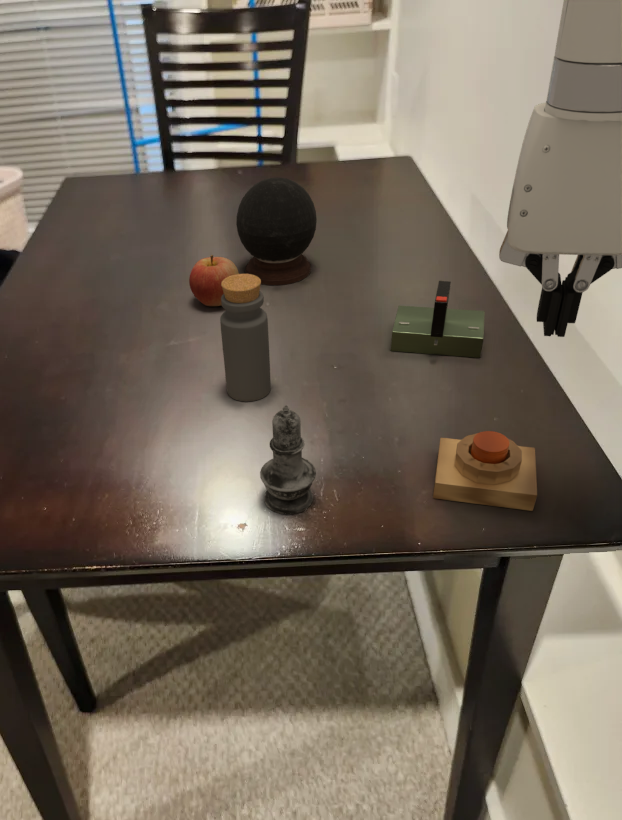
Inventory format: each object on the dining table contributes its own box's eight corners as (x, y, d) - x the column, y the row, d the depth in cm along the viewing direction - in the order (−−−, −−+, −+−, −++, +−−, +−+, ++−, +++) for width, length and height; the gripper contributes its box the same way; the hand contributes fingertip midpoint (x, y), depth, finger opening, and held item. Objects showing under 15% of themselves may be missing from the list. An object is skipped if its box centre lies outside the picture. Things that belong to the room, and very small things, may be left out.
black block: (434, 314, 97) (439, 278, 93) (446, 315, 97) (451, 279, 93) (430, 336, 92) (434, 300, 89) (442, 337, 92) (447, 301, 88)
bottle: (228, 404, 89) (217, 294, 79) (225, 380, 93) (215, 273, 83) (273, 399, 89) (268, 289, 79) (268, 375, 93) (263, 269, 83)
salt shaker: (316, 480, 76) (317, 388, 68) (315, 517, 72) (315, 423, 64) (263, 480, 77) (258, 388, 69) (259, 515, 73) (252, 422, 65)
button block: (530, 463, 76) (538, 434, 74) (532, 511, 71) (541, 481, 68) (438, 452, 79) (442, 424, 76) (432, 498, 73) (437, 469, 70)
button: (506, 446, 73) (509, 432, 72) (506, 467, 70) (509, 453, 69) (471, 442, 74) (473, 429, 73) (470, 462, 71) (472, 449, 70)
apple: (235, 315, 107) (231, 265, 102) (186, 313, 109) (180, 264, 103) (246, 292, 113) (242, 244, 108) (199, 290, 115) (193, 243, 109)
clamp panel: (481, 330, 99) (485, 309, 97) (479, 369, 91) (483, 347, 89) (396, 324, 102) (398, 304, 100) (387, 361, 94) (389, 340, 92)
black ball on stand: (326, 280, 114) (327, 186, 104) (249, 292, 113) (243, 198, 103) (304, 251, 124) (303, 162, 114) (233, 262, 122) (226, 172, 113)
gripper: (718, 69, 48) (643, 313, 60) (494, 78, 52) (465, 306, 64) (744, 93, 43) (656, 356, 55) (491, 102, 47) (460, 345, 59)
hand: (553, 328), depth 59 cm, fingers closed
